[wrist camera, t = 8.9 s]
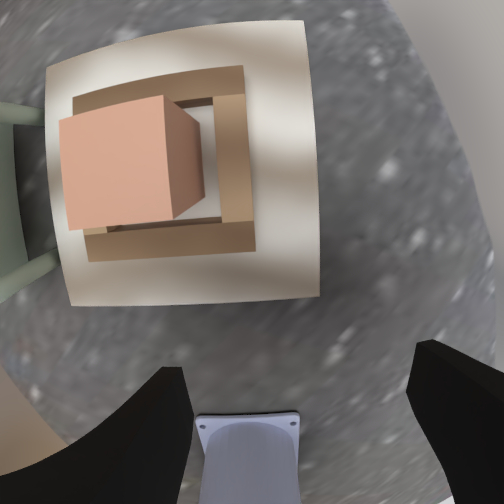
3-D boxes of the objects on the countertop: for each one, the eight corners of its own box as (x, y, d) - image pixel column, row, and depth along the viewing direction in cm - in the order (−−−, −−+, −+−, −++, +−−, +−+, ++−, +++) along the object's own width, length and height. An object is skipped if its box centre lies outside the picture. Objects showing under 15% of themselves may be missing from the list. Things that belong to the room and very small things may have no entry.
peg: (205, 197, 16) (172, 219, 10) (135, 204, 16) (68, 231, 10) (199, 122, 15) (163, 94, 9) (129, 133, 15) (58, 120, 9)
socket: (316, 289, 19) (326, 311, 16) (78, 300, 19) (56, 319, 16) (300, 27, 15) (309, 5, 12) (54, 70, 15) (29, 61, 12)
